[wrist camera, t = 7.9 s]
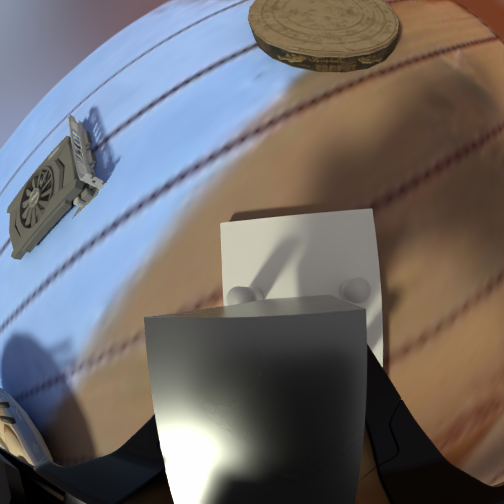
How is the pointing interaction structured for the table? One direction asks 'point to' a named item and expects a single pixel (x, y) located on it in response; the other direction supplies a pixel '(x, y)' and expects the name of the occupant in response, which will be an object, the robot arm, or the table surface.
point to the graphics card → (53, 190)
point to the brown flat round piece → (325, 32)
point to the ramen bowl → (20, 432)
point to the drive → (261, 400)
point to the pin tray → (306, 262)
